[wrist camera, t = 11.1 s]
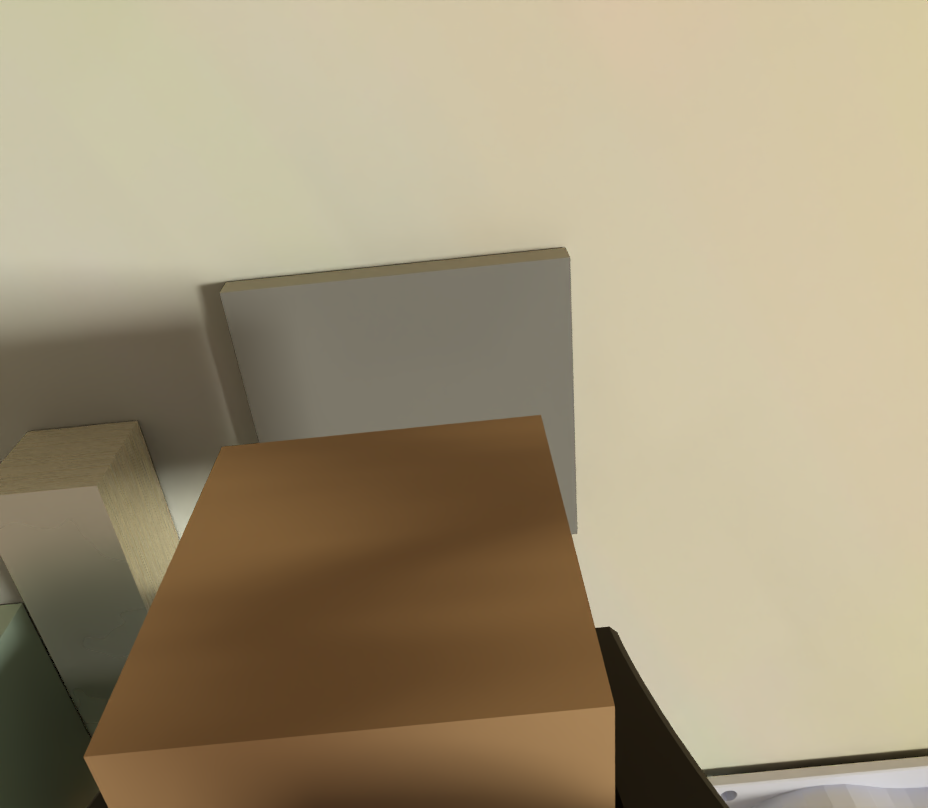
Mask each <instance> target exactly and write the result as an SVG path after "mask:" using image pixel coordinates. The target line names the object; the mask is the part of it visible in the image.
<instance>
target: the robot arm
mask: <svg viewBox="0 0 928 808" xmlns="http://www.w3.org/2000/svg"><path fill="white" fill-rule="evenodd" d="M595 630H596V634H597V638H598V641H599V645H600V649H601V653H602V657H603V661H604V665H605V669H606V673H607V677H608V681H609V685H610V689H611V693H612V697H613V701H614V704H615V808H928V756H924V757H913V758H903V759H892V760H881V761H871V762H860V763H849V764H839V765H828V766H817V767H807V768H796V769H785V770H775V771H764V772H754V773H743V774H732V775H722V776H711V777H706V776H705V774H704V773H703V771H702V770H701V768H700V767H699V766H698V764H697V763H696V761H695V760H694V758H693V757H692V756H691V754H690V753H689V751H688V750H687V748H686V747H685V745H684V744H683V743H682V741H681V740H680V738H679V737H678V735H677V734H676V733H675V731H674V730H673V728H672V726H671V725H670V723H669V722H668V720H667V719H666V717H665V716H664V714H663V713H662V711H661V710H660V708H659V706H658V705H657V703H656V701H655V700H654V698H653V697H652V695H651V693H650V692H649V690H648V689H647V687H646V685H645V684H644V682H643V680H642V678H641V677H640V675H639V673H638V672H637V670H636V668H635V666H634V664H633V663H632V661H631V659H630V657H629V655H628V653H627V651H626V650H625V648H624V646H623V644H622V642H621V640H620V637H619V635H618V633H617V632H616V631H615V630H613V629H612V628H610V627H601V628H595ZM87 808H108V806H107V804H106V802H105V800H104V798H103V796H102V794H101V792H100V790H99V791H98V793H97V794H96V795H95V797H94V798H93V800H92V801H91V802H90V804H89V805H88V806H87Z"/></svg>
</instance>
